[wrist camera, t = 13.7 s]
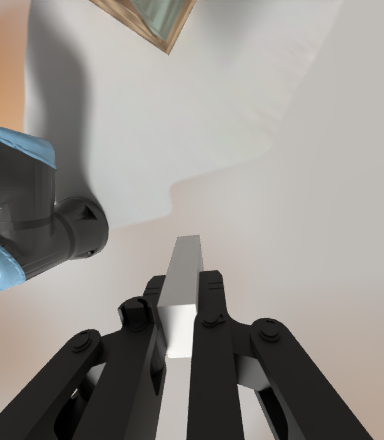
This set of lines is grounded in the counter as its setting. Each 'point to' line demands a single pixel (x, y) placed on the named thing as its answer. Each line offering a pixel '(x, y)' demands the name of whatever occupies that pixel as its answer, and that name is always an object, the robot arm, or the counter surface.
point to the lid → (156, 13)
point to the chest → (138, 25)
